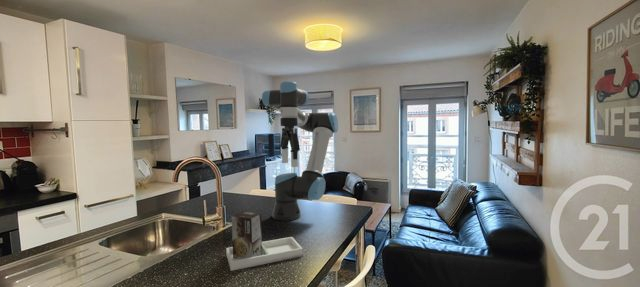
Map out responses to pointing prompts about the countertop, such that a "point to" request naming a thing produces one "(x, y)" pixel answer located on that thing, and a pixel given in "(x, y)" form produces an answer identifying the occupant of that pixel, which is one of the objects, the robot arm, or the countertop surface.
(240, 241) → the coffee box
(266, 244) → the cell crate
